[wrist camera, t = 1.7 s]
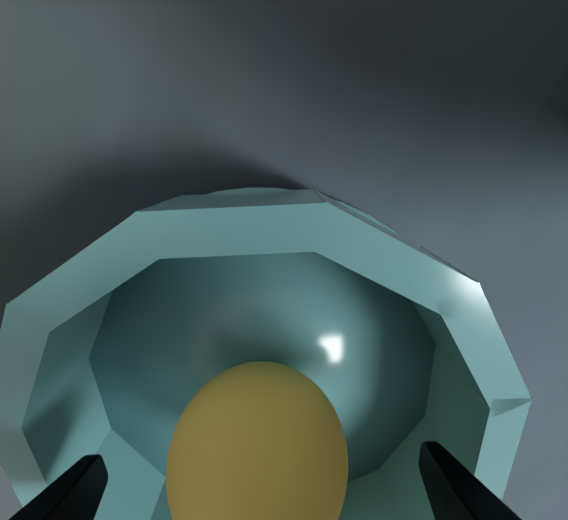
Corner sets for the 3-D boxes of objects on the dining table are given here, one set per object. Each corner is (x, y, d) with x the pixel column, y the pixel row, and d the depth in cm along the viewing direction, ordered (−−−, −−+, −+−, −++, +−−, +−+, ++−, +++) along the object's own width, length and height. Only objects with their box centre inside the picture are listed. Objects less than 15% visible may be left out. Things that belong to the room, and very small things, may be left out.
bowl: (484, 175, 9) (600, 184, 6) (429, 495, 14) (475, 599, 10) (17, 198, 9) (-131, 219, 6) (123, 507, 14) (74, 613, 10)
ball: (332, 326, 10) (380, 481, 5) (331, 436, 11) (366, 629, 7) (186, 333, 10) (99, 491, 5) (205, 441, 12) (153, 636, 7)
